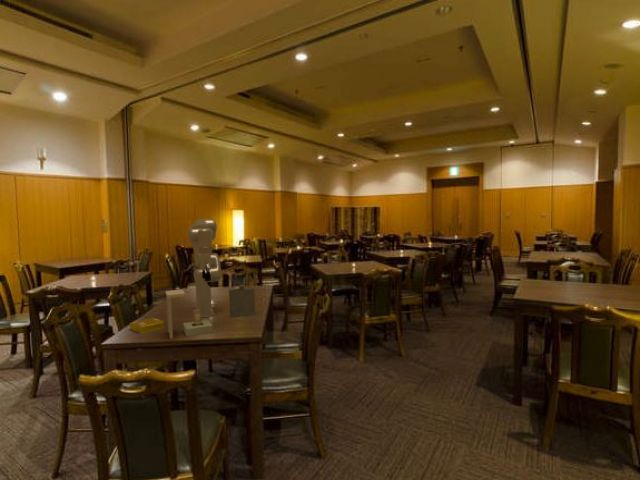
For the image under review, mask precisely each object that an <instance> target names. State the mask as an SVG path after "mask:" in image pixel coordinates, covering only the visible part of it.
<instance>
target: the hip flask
mask: <svg viewBox="0 0 640 480" xmlns="http://www.w3.org/2000/svg"><path fill="white" fill-rule="evenodd" d="M228 293H229V294H228V295H229V317H230V318H241V317H240V316H243V317H250V316H251V315H253V316H256V305H255V304H256V302H255V288H254V287H250V288H245V285H244V284H241V285H238V287H237V288H233V289H229V290H228ZM251 317H252V316H251Z"/></svg>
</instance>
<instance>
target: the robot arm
mask: <svg viewBox="0 0 640 480" xmlns="http://www.w3.org/2000/svg"><path fill="white" fill-rule="evenodd" d="M217 225H218V224H217V221H215V219H212V218H209V219H208V218H207V219H204V218H203V219H197V220H194V222H193V224H192V225H191V226H189V227H188V230H187V237H188V239H189V243H190V245H191V247H192V249H193V258H194V265H195V266H196V267H197V268H195V270H194V271H193V279H194V285H195V301H196V302H195V303H196V310H201V319H203V318H210V317H214V316H215V312H214V311H213V310H212V309H213V308H212V307H213V306H212V289H211V286H210V285H209V284H208V283H211V282H212V283H213V282H219V281H221V279H222V267H221V262H220V259H221V258H220V256H219V254H218V253H217V252H213V243H212V242H213V241H214V240H215V239H216V236H217V229H218V227H217Z"/></svg>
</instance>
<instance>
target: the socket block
mask: <svg viewBox="0 0 640 480" xmlns="http://www.w3.org/2000/svg"><path fill="white" fill-rule="evenodd" d="M165 295H166V296H165V297H166V299H165V300H166V315H167V316H166V318H167V333H168V334H169V339H170V340H172V339H174V333H173V332H174V331H173V315H172V314H173V311H172V299H173V298H181V297H186V292H185V291H184V289H173V290H165ZM182 326H183V327H182V328H183V333H184V334H185V337H193V336H199V335H207V334H212V333H213V324H212V323H211V322H210V320H209V319H204V320H201V325H199V326H194V321H188V322H183V323H182Z"/></svg>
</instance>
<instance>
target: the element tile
mask: <svg viewBox="0 0 640 480" xmlns="http://www.w3.org/2000/svg"><path fill="white" fill-rule="evenodd" d="M163 329H165V321H164V320H162V319H159V318H155V317H151V318H146V319H141V320H136V321H132V322H130V323H129V330H130V331H131V332H134V333H136V334H139V333H142V334H146V332H147V333H150V332H154V331H158V330H163Z"/></svg>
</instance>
